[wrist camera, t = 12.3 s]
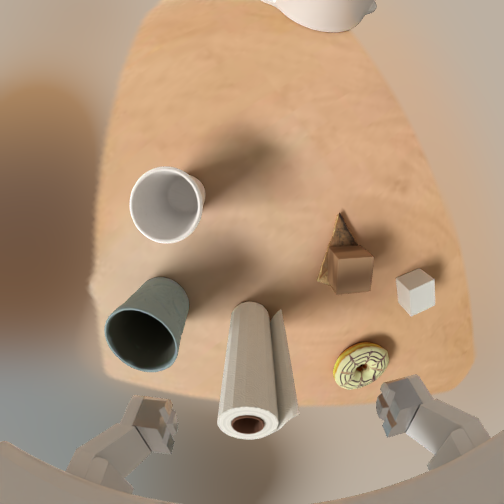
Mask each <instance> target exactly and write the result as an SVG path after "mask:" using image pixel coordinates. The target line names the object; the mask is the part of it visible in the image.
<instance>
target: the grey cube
mask: <svg viewBox="0 0 504 504" xmlns="http://www.w3.org/2000/svg"><path fill="white" fill-rule="evenodd" d="M396 284H397V293H398V303H399V304H400V305H401V306H402V307H403V308H404V309H405V310H406V312H407V313H408V314H409V315H410V316H413V315H415V314H418V313H420V312H422V311H424V310H426V309H428V308H430V307H432V306H434V305H435V280H434V279H433V278H432V277H431V276H430V275H428V274H427V273H426V272H424V271H423V270H421V269H420V268H419V269H416V270H414V271H412V272H409V273H407V274H404V275H402V276H400V277H397V278H396Z"/></svg>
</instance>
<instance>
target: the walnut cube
mask: <svg viewBox="0 0 504 504" xmlns="http://www.w3.org/2000/svg"><path fill="white" fill-rule="evenodd" d="M373 262H374V256H373V255H371V254H370V253H369V252H368V251H367V250H366V249H364V248H363V247H362V246H361V245H358V246H341V247H328V276H327V280H328V281H329V283H330V285H331V286H332V288H333V290H334V292H335V293H336V295H339V294H349V293H359V292H368V291H370V290H371V282H372V272H373Z"/></svg>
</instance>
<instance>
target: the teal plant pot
mask: <svg viewBox="0 0 504 504" xmlns="http://www.w3.org/2000/svg"><path fill="white" fill-rule="evenodd" d="M188 310H189V300H188V297H187V294H186V292H185V291H184V289H183V288H182V287H181V286H180V285H179V284H178V283H177V282H175V281H173V280H171V279H169V278H164V277H156V278H152V279H150V280H148V281H147V282H145V283H144V284H143V285H142V286H141V287H140V288H139V289H138V290H137V291H136V292H135V293H134V294H133V295H132V296H131V297H130V298H129V299H128V300H127V301H126V302H125V303H124V304H122V305H121V306H119V307H118V308H117V309H116V310H115V311H114V312H113V313H112V314H111V315H110V316H109V317H108V319H107V321H106V324H105V337H106V341H107V343H108V345H109V347H110V349H111V350H112V352H113V353H114V354H115V355H116V356H117V357H118V358H119V359H120V360H121V361H122V362H124V363H125V364H127V365H128V366H130V367H132V368H134V369H137V370H140V371H144V372H158V371H162V370H165V369H167V368H169V367H170V366H171V365H172V364H173V363H174V361H175V360H176V358H177V355H178V350H179V345H180V339H181V335H182V333H183V329H184V325H185V321H186V318H187V314H188Z"/></svg>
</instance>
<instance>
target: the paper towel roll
mask: <svg viewBox="0 0 504 504" xmlns="http://www.w3.org/2000/svg"><path fill="white" fill-rule="evenodd" d="M297 415H299V409H298V403H297V397H296V390H295V384H294V378H293V372H292V366H291V360H290V355H289V349H288V343H287V337H286V331H285V326H284V320H283V315H282V309H280V310H279V311H277V313H276V314H275V315H274V316H273V318H272V320H271V321H270V319H269V314H268V311H267V310H266V309H265V308H264V307H263V305H261V304H258V303H256V302H244V303H241V304H239V305H238V306H237V307H235V309H234V310H233V312H232V314H231V321H230V329H229V336H228V343H227V351H226V358H225V366H224V373H223V381H222V389H221V396H220V404H219V413H218V422H217V424H218V426H219V428H220V429H221V431H223V432H224V433H226V434H227V435H229V436H232V437H235V438H239V439H258V438H262V437H265V436H267V435H269V434H271V433H274V432H276V431H277V430H279V429H280V428H281V427H282V426H283V425H284V424H285V423H286V422H287V421H289V420H290V419H291V418H293V417H295V416H297Z"/></svg>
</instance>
